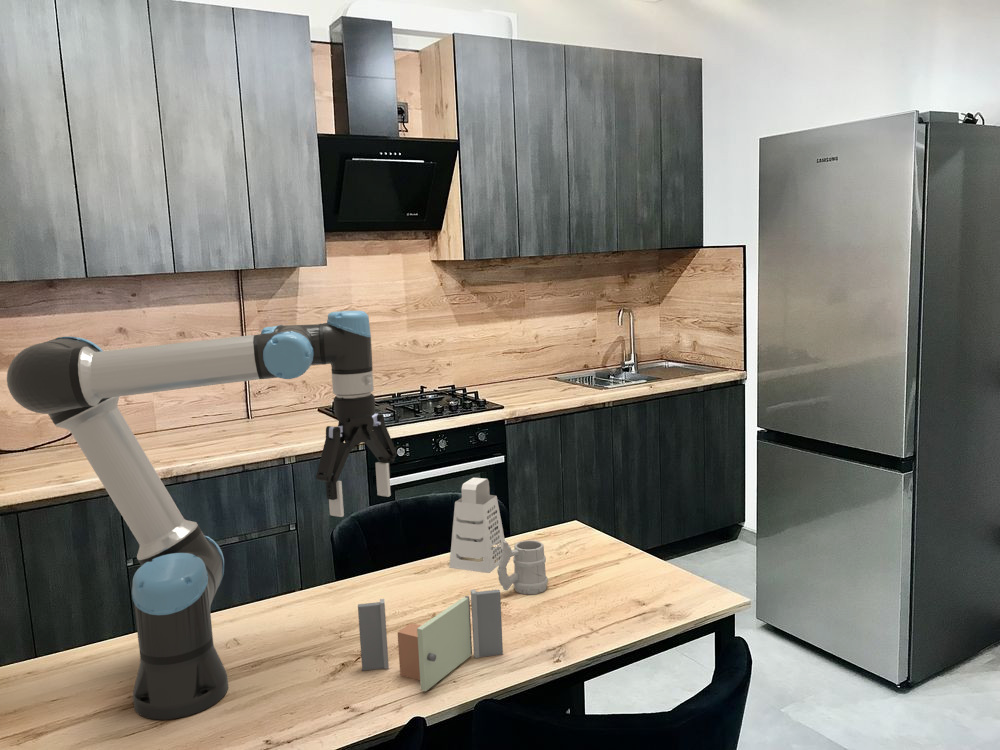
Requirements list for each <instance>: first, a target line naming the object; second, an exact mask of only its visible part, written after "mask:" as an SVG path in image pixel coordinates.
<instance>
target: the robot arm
mask: <svg viewBox="0 0 1000 750" xmlns="http://www.w3.org/2000/svg"><path fill="white" fill-rule="evenodd" d="M370 326H371V325H370V317H369V315H368V314H367V313H366V312H365V311H364V310H342V311H341V310H340V311H333V312H329V313H328V315H327V320H326V322H324V323H316V324H292V325H291V324H290V325H289V324H288V325H286V324H285V325H283V324H278V325H274V326H266V327H265V326H264V328H262V329H261V331H260V333H258V334H250V335H249V334H248V335H241V336H230V337H222V338H214V339H213V338H212V339H205V340H204V339H203V340H194V341H186V342H177V343H176V342H175V343H168V344H160V345H158V344H155V345H147V346H139V347H130V348H122V349H112V350H111V349H109V350H105V351H104V350H103V349H102V348H101V347H100V346H99V345H97V344H96V343H95V342H93V341H91V340H88V339H87V338H83V337H77V336H61V337H60V336H59V337H56V338H53V339H49V340H47V341H44V342H41V343H36V344H33V345H30V346H28V347H25V348H24V349H23V350H21V351H20V352H18V353H17V355H16V356H14V358H13V359H12V361H11V362H10V364H9V366H8V369H7V372H6V385H7V387H8V390H9V393H10V395H11V397H12V398H13V399H14V401H15V402H16V403H17V404H18V405H20V406H21V407H23V408H24V409H26V410H28V411H31V412H33V413H36V414H44V415H48V416H49V418H50V419H51V421H52V423H53V424H54V426H55V427H57V428H61V429H65V430H67V431H69V432H70V434H71V435H72V436H73V438H74V440H75V441H76V443H77V445H78V446H79V448H80V450H81V451H82V453H83V455H84V457H86V460H87V461H88V463H89V464H90V466H91V467H92V470H93V471H94V473H95V474H96V476H97V477H98V479H99V481H100V482H101V484H102V485H103V487H104V489H105V491H106V492H107V494H108V495H109V497H110V498H111V500H112V502H113V504H114V506H115V507H116V509H117V510H118V512H119V514H120V515H121V516H122V518H123V520H124V521H125V523H126V525H127V527H128V528H129V530H130V531H131V533H132V535H133V536H134V538H135V540H136V541H137V543H138V545H139V548H138V551H137V555H136V558H137V560H138V563H139V564H140V567H138V569H137V570H136V571H135V573H134V575H133V577H132V588H131V595H132V597H131V598H132V602H133V607H134V614H135V625H136V632H137V641H138V648H139V658H140V662H139V666H138V671H137V675H136V679H135V682H134V687H133V692H132V701H133V708H134V710H135V712H136V713H137V714H138V715H139V716H140V717H143V718H146V719H150V720H162V721H163V720H173V719H179V718H184V717H188V716H192V715H195V714H198V713H201V712H203V711H204V710H207V709H208V708H210V707H213V706H214V705H215V704H217V703H218V702H219V701H220V700H222V699H223V698H224V696H226V694H227V692H228V690H229V680H228V674H227V673H228V672H227V670H226V668H225V666H224V664H223V661H222V660H221V658H220V655H219V654H218V651H217V649H216V648H215V645H214V638H213V627H212V618H211V617H212V616H211V605H212V603H213V600H214V598H215V596H216V593H217V591H218V589H219V587H220V585H221V583H222V582H223V577H224V575H225V573H224V572H225V558H224V554H223V551H222V549H221V547H220V546H219V544H218V543H216V541H215V540H214V539H212V538H211V537H210V536H208V535H205V534H204V533H203V531H202V529H201V528H200V526H199V524H198V522H196V521H191V520H187V519H185V518H184V516H183V515H182V513H181V511H180V510H179V508H178V507H177V505H176V503H175V501H174V499H173V498H172V496H171V494H170V492H169V491H168V489H167V488H166V486H165V484H164V483H163V481H162V479H161V478H160V476H159V474H158V473H157V470H155V467H154V466H153V464H152V463H151V461H150V459H149V458H148V455H146V454H147V453H146V452H145V451H144V449H143V448H142V446H141V443H140V442H139V441H138V439H137V437H136V436H135V434H134V432H133V431H132V429H131V428H130V426H129V424H128V423H127V421H126V419H125V417H124V416H123V414H122V413H121V411H120V409H119V407H118V404H119V400H120V397H125V396H134V395H143V394H150V393H159V392H167V391H174V390H175V391H176V390H184V389H192V388H198V387H199V388H200V387H207V386H214V385H215V386H216V385H225V384H233V383H242V382H247V381H249V382H251V381H256V380H270V379H275V378H276V379H277V378H279V379H283V380H292V379H296V378H298V377H301V376H303V375H304V374H306V372H307V371H308V370H309V368H310V367H311V366H320V365H325V366H326V365H330V366H331V383H332V385H331V386H332V394H334V395H335V396H334V398H333V410H334V411H333V412H334V416H335V417H337V420H338V424H337V426H333V425H332V426H331V425H327V426H326V427H325V440H324V444H323V449H322V452H321V457H320V460H319V463H318V468H317V471H316V476H315V477H316V478H315V479H316V480H317V481H319V482H320V481H321V482H325V483H324V484H325V491H326V498H327V500H328V508H329V516H333V517H339V518H342V517H344V516H345V513H344V512H345V511H344V501H343V500H344V498H343V497H344V496H343V485H342V480H339V479H340V476H341V474H342V471H343V469H344V468H345V464H346V462H347V459H348V457H349V455H350V453H351V451H352V450H354V448H355V446H359V445H360V444H365V445H366V446H367V448H368V449H369V450H370V451H371V453H372V455H374V457H375V458H376V459H377V460H378V461H377V462H375V463H374V464H375V476H376V477H375V478H376V479H375V480H376V490H377V491H376V492H377V493H376V495H377V496H381V497H387V498H388V497H390V496H391V495H392V493H391V479H390V478H391V464H393V463H394V462H395V460H396V459H395V457H397V456H398V455H397V454H398V452H397V450H396V447H395V445H394V443H393V440H392V437H391V435H390V432H389V431H388V428H387V426H386V424H385V423H386V421H385V415H384V413H376V399H375V395H374V394H373V392H374V390H375V389H374V376H373V375H374V374H373V370H374V369H373V352H372V348H373V347H372V335H371V327H370Z"/></svg>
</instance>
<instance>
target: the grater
mask: <svg viewBox="0 0 1000 750" xmlns="http://www.w3.org/2000/svg"><path fill="white" fill-rule="evenodd" d="M460 490H461V497H460V498H459V499H458V500H456V501H455V502H454V511H453V521H452V530H451V531H452V532H451V543H450V544H451V546H450V557H449V566H448V567H449V568H450V569H454V570H455V569H456V570H463V571H464V570H465V571H471V572H472V571H473V572H478V573H488V574H490V573H492V572H493V571H494V570H495V569H497V568H498V567H499V563H500V559H501V555H502V551H503V541H505V535H504V528H503V524H502V523H503V522H502V518H501V513H500V512H501V511H500V507H499V502H498V497H497V495H493V494H490V481H489V479H488V478H481V477H472V478H470V479H469V480H467V481H465V482H464V483H462V485H461V489H460ZM462 558H467V560H466V559H462ZM468 559H477V560H480V559H482V560H481V561H475V560H468Z"/></svg>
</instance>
